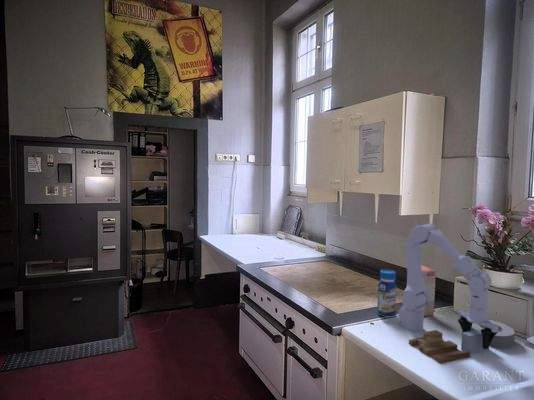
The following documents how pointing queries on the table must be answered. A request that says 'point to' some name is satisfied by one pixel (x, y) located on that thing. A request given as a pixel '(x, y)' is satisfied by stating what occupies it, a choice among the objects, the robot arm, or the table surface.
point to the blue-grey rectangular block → (472, 341)
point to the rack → (441, 351)
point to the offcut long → (424, 342)
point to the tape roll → (499, 335)
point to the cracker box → (428, 289)
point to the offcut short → (432, 335)
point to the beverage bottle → (387, 294)
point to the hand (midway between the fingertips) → (476, 343)
